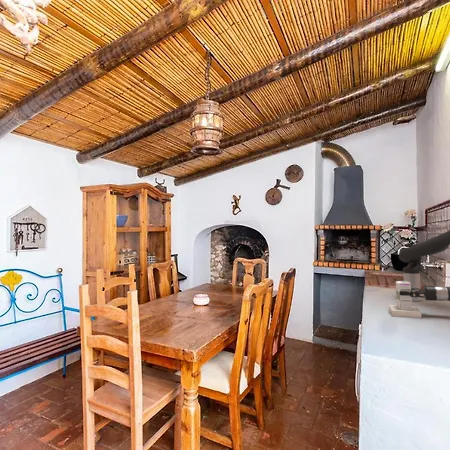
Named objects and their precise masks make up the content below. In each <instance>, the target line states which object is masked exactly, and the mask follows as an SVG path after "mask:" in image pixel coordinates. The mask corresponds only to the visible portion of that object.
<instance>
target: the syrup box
mask: <svg viewBox="0 0 450 450" xmlns="http://www.w3.org/2000/svg"><path fill="white" fill-rule="evenodd" d="M395 291H396V292H395V295H396V305H397V308H398V309H400V310H406V311H412V306H413V301H412V297H410V296H402V295H400V293H399V292H400V291H411V284H410V283H409V282H406V281H403V280H398V281H395Z"/></svg>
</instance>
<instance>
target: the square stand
mask: <svg viewBox="0 0 450 450" xmlns="http://www.w3.org/2000/svg"><path fill="white" fill-rule="evenodd" d="M388 311H389V313H390V315H391V317H395V316H396V317H397V318H398V317H399V318H409V317H410V319H411V318H412V319H422V317H423V316H422V311H421V310H419V309H418V307H417V306H413V305H412V311H406V310H400V309H398V308H397V304H395V305H394V304H388Z"/></svg>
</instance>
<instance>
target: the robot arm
mask: <svg viewBox="0 0 450 450" xmlns="http://www.w3.org/2000/svg"><path fill="white" fill-rule="evenodd" d="M449 247H450V229H449V230H447V231H445V232H443V233H441V234H438V235H436V236H434V237H433V236H432V237H431V238H428V239H426V240H424V241H421V242H419V243H417V244H415V245H413V246H409V247H405V248H402V249H401V250H399V253H398V258H399V260H400V261H401V262H403V263H408V264H407V266H405V267H403V268H402V277H403V280H402V281H406V282H409V283H410V284H411V291H400V292H399V293H400V295H402V296H410V297H412V302H420V301H422V298H424V300H425V301H429V302H431V301H432V302H446V301H447V302H450V286H443V285H424V286H423V289H421V270H422V257H425V256H427V257H428V256H432V255H436V254H439V253H442V252H444V251H446V250H447V249H448V248H449Z"/></svg>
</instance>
